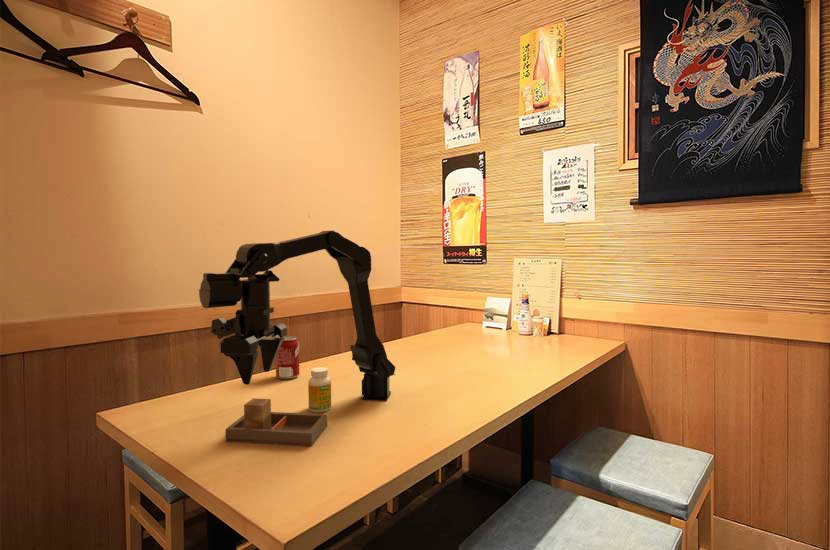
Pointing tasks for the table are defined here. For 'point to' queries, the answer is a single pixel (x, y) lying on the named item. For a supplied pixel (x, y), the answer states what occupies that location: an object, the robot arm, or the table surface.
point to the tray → (281, 430)
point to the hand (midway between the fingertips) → (257, 377)
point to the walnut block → (257, 413)
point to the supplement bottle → (319, 390)
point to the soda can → (288, 358)
